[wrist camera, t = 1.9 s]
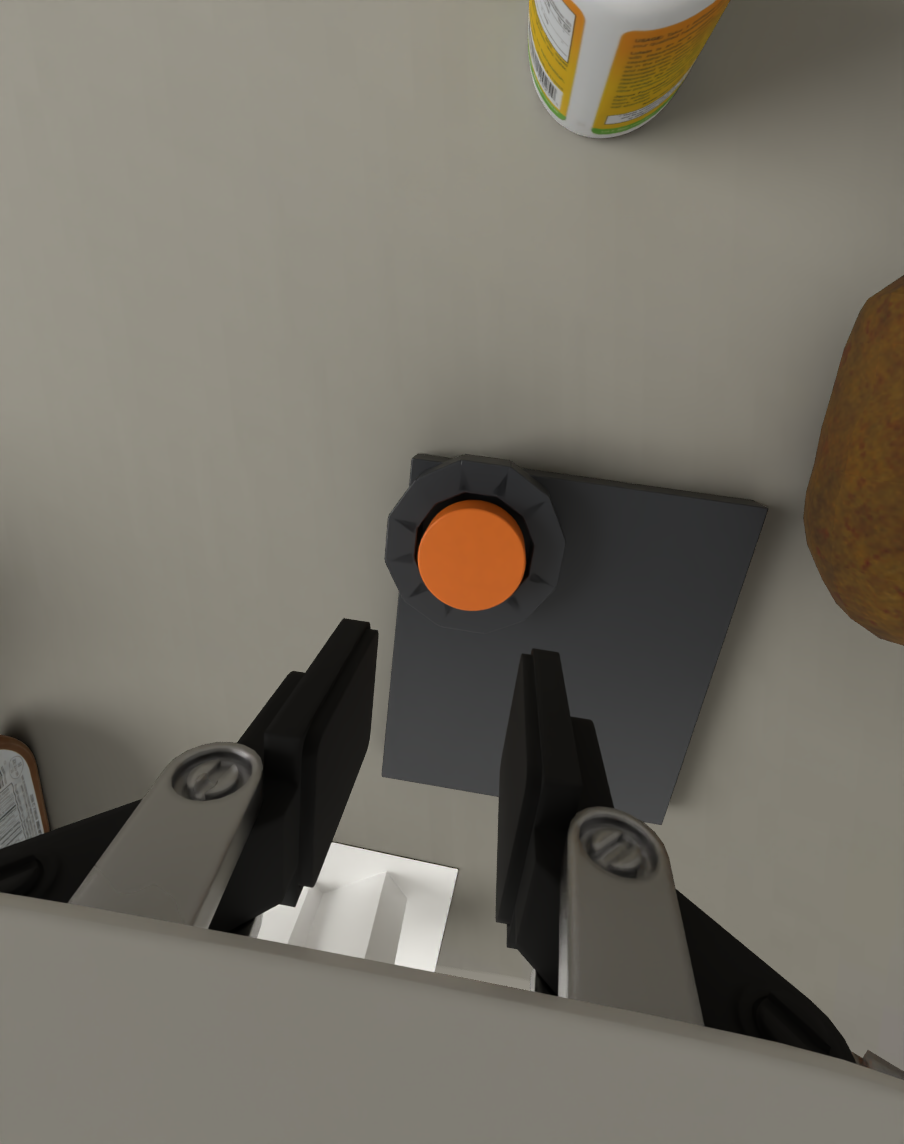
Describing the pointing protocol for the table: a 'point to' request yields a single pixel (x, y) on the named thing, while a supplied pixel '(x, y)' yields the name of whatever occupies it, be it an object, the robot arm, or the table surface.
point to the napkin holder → (369, 909)
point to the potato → (864, 473)
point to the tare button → (472, 555)
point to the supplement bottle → (614, 58)
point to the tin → (20, 794)
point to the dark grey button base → (566, 623)
